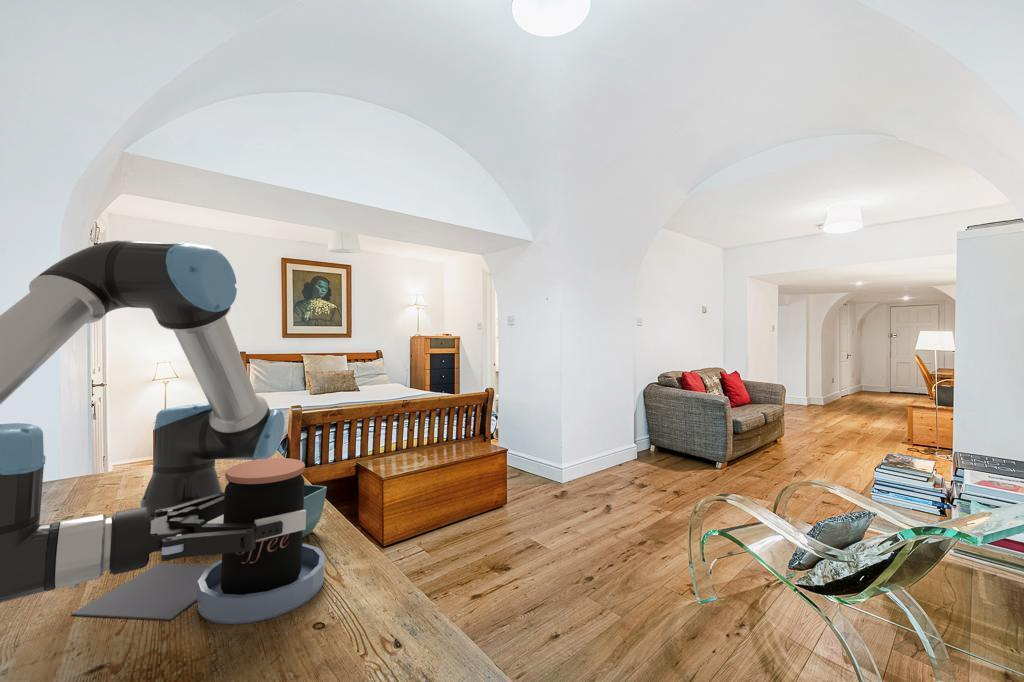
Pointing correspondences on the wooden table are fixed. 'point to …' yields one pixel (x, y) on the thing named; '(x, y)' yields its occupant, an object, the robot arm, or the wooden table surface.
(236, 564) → the coffee jar
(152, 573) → the mat
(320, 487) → the flower pot
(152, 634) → the wooden table surface
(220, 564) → the bowl
